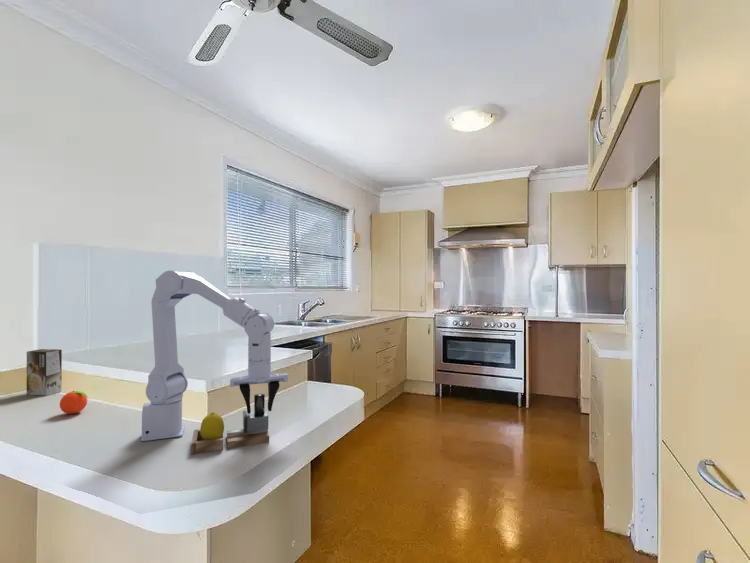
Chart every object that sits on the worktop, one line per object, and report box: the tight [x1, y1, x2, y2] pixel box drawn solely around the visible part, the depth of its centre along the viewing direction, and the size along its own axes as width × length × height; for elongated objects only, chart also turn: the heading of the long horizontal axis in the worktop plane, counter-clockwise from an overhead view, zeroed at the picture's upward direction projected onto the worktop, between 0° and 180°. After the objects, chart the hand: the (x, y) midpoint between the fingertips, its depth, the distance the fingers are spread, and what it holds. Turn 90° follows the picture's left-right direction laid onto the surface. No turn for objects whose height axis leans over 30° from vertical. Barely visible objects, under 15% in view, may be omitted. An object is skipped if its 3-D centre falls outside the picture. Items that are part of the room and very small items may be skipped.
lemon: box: [200, 411, 225, 441], centre depth 99 cm, size 6×6×8 cm
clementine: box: [59, 390, 89, 415], centre depth 123 cm, size 8×7×7 cm
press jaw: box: [242, 393, 269, 433], centre depth 103 cm, size 6×6×8 cm
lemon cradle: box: [190, 428, 224, 455], centre depth 98 cm, size 7×10×2 cm
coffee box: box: [26, 348, 63, 396], centre depth 147 cm, size 9×6×16 cm
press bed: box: [226, 428, 270, 449], centre depth 102 cm, size 10×8×2 cm
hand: (259, 411), depth 103 cm, fingers open, 5 cm apart
